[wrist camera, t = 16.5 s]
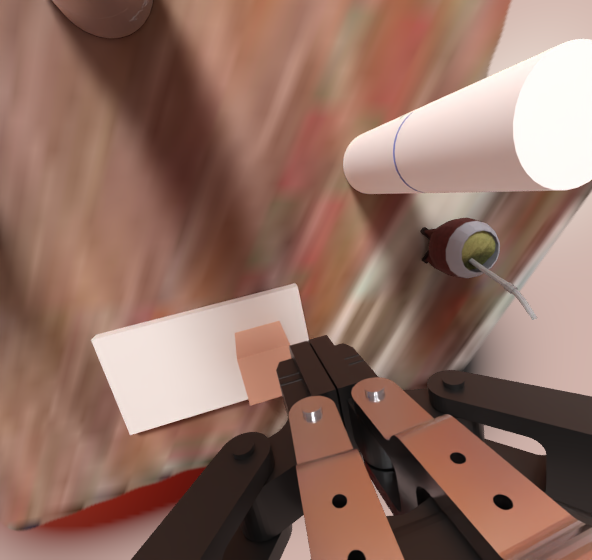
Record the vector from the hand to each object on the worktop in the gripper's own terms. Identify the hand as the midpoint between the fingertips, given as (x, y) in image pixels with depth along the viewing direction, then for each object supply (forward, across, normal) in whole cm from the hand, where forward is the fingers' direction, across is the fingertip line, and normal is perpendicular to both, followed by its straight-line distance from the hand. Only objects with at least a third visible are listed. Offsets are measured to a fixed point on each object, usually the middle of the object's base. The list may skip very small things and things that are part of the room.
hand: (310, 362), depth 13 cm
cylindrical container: (+29, -16, -7) cm, 34 cm away
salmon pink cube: (+28, +2, +12) cm, 30 cm away
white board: (+29, +8, +12) cm, 32 cm away
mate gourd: (+29, -24, +5) cm, 38 cm away
